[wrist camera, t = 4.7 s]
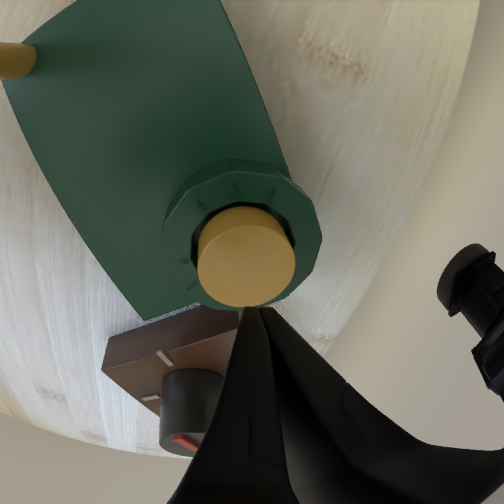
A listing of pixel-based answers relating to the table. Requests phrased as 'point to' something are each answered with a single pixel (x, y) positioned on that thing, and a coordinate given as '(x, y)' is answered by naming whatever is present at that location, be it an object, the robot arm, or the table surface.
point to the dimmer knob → (187, 409)
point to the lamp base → (155, 141)
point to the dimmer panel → (170, 351)
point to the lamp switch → (244, 257)
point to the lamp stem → (16, 60)
